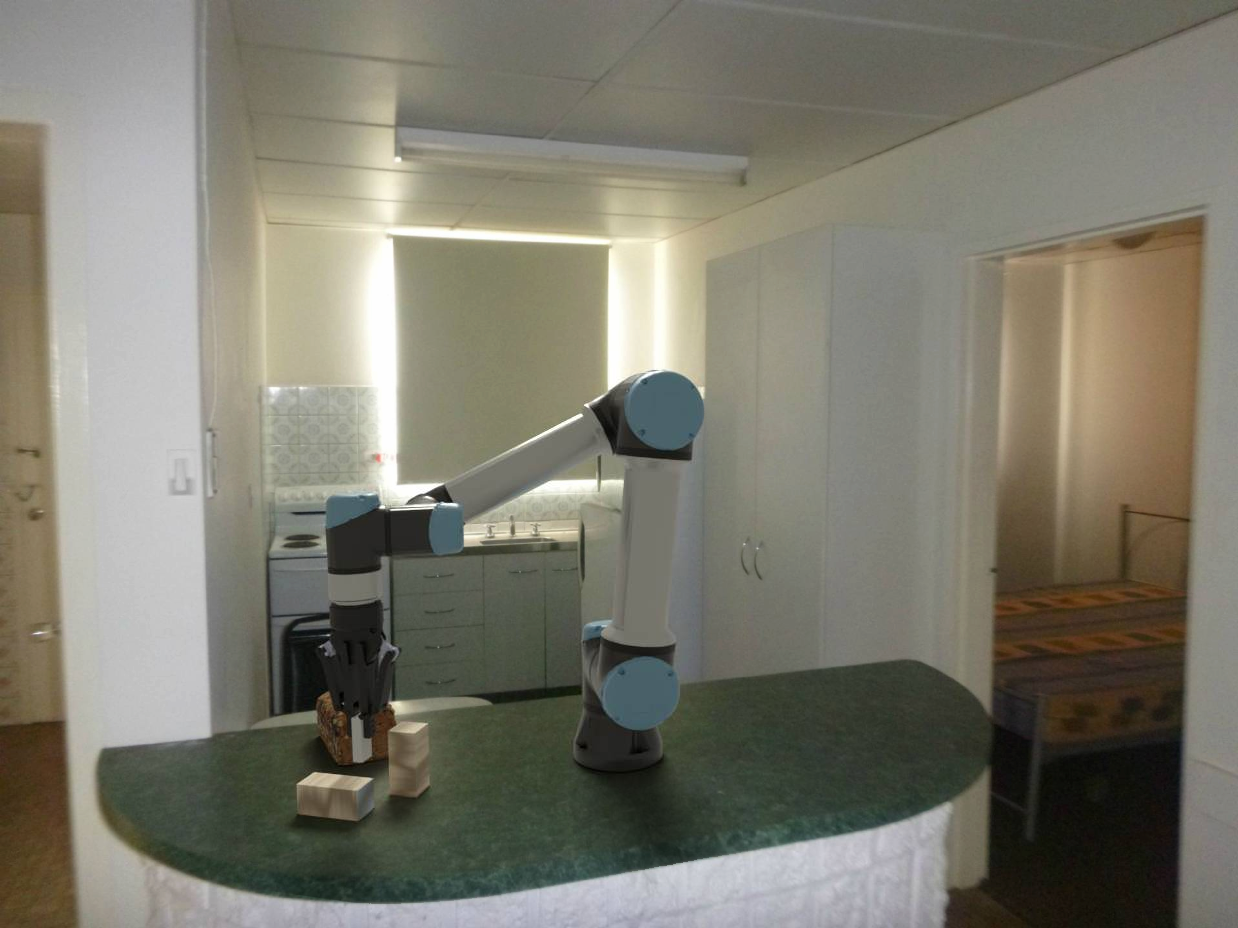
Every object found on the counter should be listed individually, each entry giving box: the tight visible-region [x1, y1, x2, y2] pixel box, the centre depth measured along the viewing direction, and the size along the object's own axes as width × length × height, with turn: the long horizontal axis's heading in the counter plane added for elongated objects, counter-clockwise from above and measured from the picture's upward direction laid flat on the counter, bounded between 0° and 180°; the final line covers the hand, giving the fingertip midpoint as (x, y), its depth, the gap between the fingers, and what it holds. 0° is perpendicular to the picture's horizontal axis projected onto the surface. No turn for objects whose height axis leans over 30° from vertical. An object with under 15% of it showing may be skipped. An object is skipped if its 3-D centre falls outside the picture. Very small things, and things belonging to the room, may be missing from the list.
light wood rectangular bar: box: [296, 771, 375, 822], centre depth 132 cm, size 4×4×10 cm
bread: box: [315, 690, 397, 766], centre depth 158 cm, size 19×11×10 cm, turn 28°
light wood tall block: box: [388, 721, 431, 799], centre depth 139 cm, size 4×4×10 cm
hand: (362, 758), depth 131 cm, fingers closed
